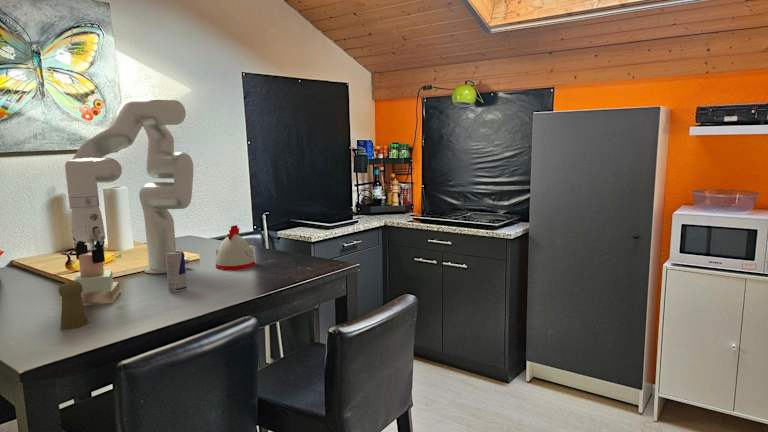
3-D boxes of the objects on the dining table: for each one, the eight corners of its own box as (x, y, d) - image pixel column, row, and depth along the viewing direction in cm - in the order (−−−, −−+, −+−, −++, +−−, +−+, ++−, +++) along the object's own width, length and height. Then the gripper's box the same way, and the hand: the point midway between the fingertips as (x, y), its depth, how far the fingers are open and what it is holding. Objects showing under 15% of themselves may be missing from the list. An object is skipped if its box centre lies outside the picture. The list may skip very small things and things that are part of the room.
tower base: (120, 294, 162) (119, 281, 161) (112, 304, 151) (111, 291, 151) (80, 297, 159) (78, 285, 158) (69, 308, 148) (68, 295, 148)
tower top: (113, 282, 160) (111, 269, 160) (110, 289, 152) (109, 276, 152) (79, 286, 157) (78, 273, 156) (75, 293, 149) (73, 280, 148)
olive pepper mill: (68, 321, 136) (63, 280, 134) (92, 320, 136) (88, 279, 135) (55, 329, 130) (50, 286, 128) (81, 328, 130) (76, 285, 129)
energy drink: (190, 288, 164) (187, 250, 163) (178, 293, 159) (175, 254, 158) (176, 287, 166) (173, 250, 164) (164, 291, 161) (161, 253, 159)
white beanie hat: (260, 262, 199) (258, 223, 197) (245, 270, 186) (243, 229, 183) (226, 261, 201) (223, 222, 199) (208, 270, 188) (206, 228, 186)
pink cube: (106, 271, 158) (104, 251, 157) (100, 276, 152) (98, 256, 151) (84, 273, 156) (82, 253, 155) (77, 278, 150) (75, 257, 149)
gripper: (112, 202, 149) (118, 261, 151) (83, 199, 159) (89, 254, 161) (85, 206, 143) (91, 267, 145) (56, 202, 153) (63, 259, 155)
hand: (90, 260), depth 153 cm, fingers open, 9 cm apart
